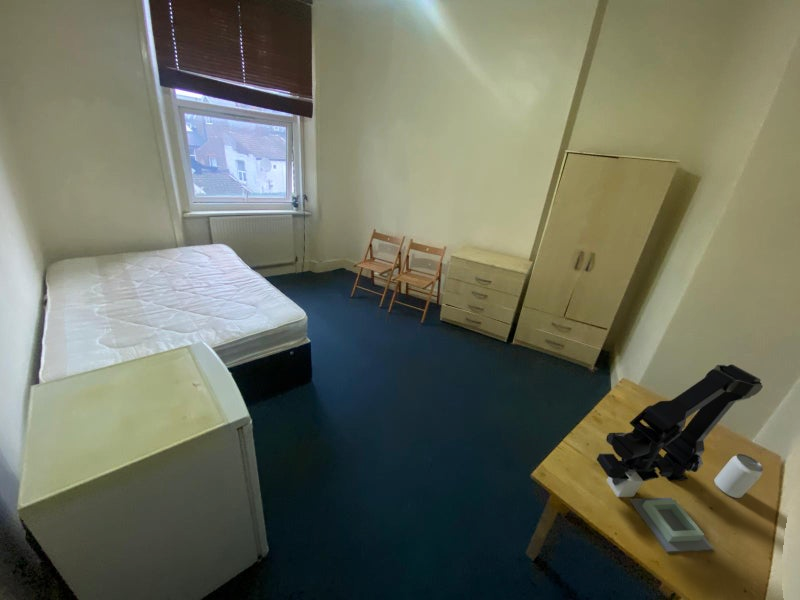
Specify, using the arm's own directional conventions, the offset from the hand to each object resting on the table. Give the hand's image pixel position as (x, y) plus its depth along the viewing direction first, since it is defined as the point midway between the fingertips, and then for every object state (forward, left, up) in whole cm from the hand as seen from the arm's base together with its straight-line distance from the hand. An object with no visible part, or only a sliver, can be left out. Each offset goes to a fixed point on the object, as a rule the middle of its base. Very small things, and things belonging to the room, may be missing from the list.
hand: (622, 483), depth 94 cm
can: (-35, +1, -2) cm, 35 cm away
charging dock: (-7, +10, -2) cm, 12 cm away
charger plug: (0, 0, -2) cm, 2 cm away
